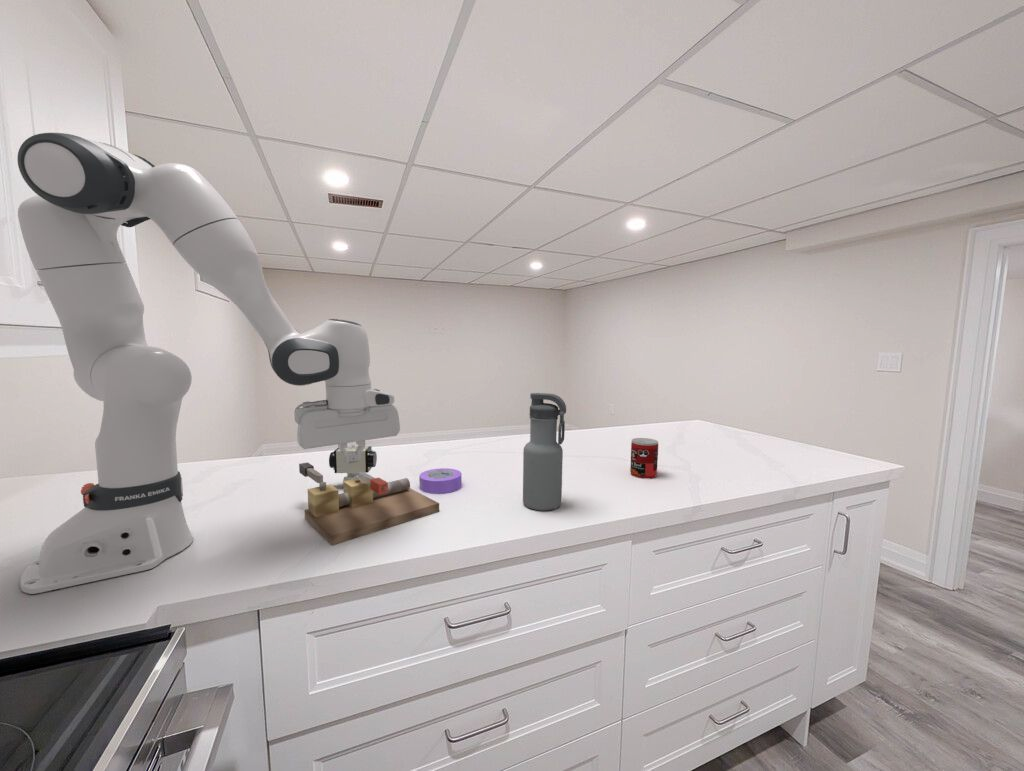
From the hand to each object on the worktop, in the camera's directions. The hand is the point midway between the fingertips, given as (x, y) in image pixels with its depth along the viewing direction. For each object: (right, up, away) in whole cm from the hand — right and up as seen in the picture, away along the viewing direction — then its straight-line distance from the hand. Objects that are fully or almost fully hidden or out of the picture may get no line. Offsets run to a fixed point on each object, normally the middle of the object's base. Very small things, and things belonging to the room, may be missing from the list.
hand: (352, 461), depth 87 cm
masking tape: (+14, -13, +28) cm, 34 cm away
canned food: (+75, -12, +40) cm, 86 cm away
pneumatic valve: (-10, -12, +27) cm, 32 cm away
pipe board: (-2, -14, +12) cm, 18 cm away
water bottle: (+42, -14, +16) cm, 47 cm away
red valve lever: (+2, -7, +6) cm, 9 cm away
